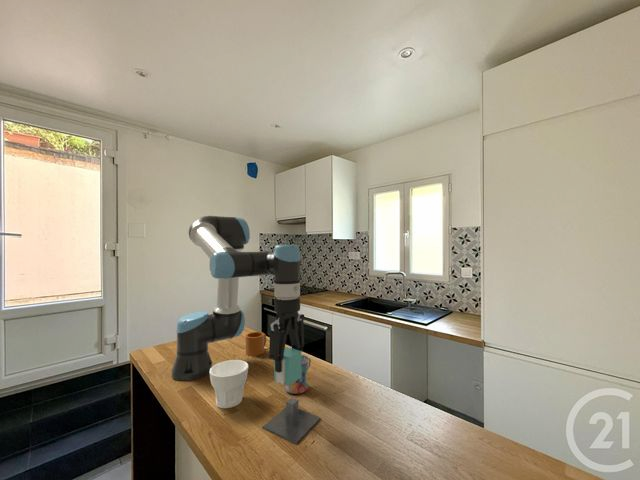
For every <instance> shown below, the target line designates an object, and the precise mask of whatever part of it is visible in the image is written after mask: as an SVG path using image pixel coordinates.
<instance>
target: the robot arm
mask: <svg viewBox="0 0 640 480" xmlns="http://www.w3.org/2000/svg"><path fill="white" fill-rule="evenodd" d="M250 233H251V231H250V227H249V225H248V223H247V221H246V220H245V219H244V218H241V217H236V216H217V215H206V216H201V217H198V218H197V219H196V220H194V221H192V223H191V225H190V226H189V228H188V237H189V240H190V241H191V242H192V243H193V244H194V245H196V246H197V247H200V248H201V250H202V251H203V252H204V253H205V255H207V257H208V258H209V271H210V275H211V276H212V278H214V279H217V296H216V297H217V298H216V305H215V306H214V307H213V309H212V314H209V313H208V312H207V311H196V312H191V313H188V314H185V315H183V316H182V317H179V319H178V321H177V325H176V356H175V359H174V362H173V365H172V368H171V378H172V379H174V380H175V381H176V380H177V381H192V380H196V379H199V378H200V379H201V378H202V377H204V376H206V375H208V374H210V373H209V371H210V368H212V367H213V362H212V358H211V355H210V353H209V344H211V343H216V342H220V341H225V340H232V339H234V338H236V337H239V336H241V335H242V333H243V332H244V330H245V325H246V318H245V317H246V315H245V313H244V311H243V310H242V309H241V306H239V305H238V301H239V300H238V299H239V298H238V296H239V278H245V277H247V278H248V277H259V276H274V278H273V279H274V282H273V283H274V287H273V288H274V289H273V290H274V292H273V293H274V295H273V296H274V297H275V299H274V311H275V313H276V316H275V320H274V322H269V323H268V329H269V350H268V351H269V353H268V354H269V355H268V358H269V360H272V361H274V360H275V371H276V381H275V382H276V383H278V384H282V385H286V384H285V359H283V356H284V350H285V348H286V342H287V336H288V335H289V341H290V345H291V349H296V350H300V351H301V353H302V352H303V350H304V349H303V348H304V347H305V331H304V330H305V327H304V321H305V314H303V313H299V312H300V310H301V298H300V296H301V253H300V251H301V250H300V246H298V245H297V244H277V245H275V246H274V249H273V251H270V250H268V251H267V250H266V251H243V250H244V249H245V245H247V244H248V243H249V242H250V237H251V236H250Z"/></svg>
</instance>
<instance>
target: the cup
mask: <svg viewBox="0 0 640 480" xmlns="http://www.w3.org/2000/svg"><path fill="white" fill-rule="evenodd" d="M248 372H249V363H247V361H245V360H241V359H230V360H225V361H224V360H223V361H220V362H217V363H216V364H214V365H212V368H210V371H209V373H208V374H209V379H210V384H211V386H212V387H213V389H214V394H215V406H216V407H217V408H220V409H231V408H234V407H236V406H238V405H240V403H242V401H243V394H244V389H245V383H246V381H247V379H248Z"/></svg>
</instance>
